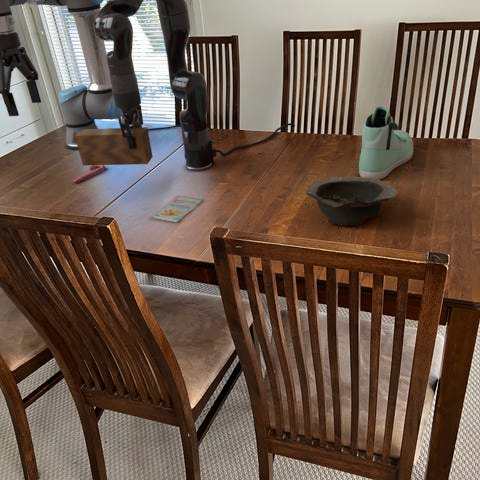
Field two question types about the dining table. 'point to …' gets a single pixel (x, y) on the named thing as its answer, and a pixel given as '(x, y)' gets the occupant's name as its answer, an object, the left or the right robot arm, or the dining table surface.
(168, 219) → the baking ingredient package
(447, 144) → the dining table surface
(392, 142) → the sneaker
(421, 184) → the dining table surface
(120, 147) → the box
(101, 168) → the candy cane
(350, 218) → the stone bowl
